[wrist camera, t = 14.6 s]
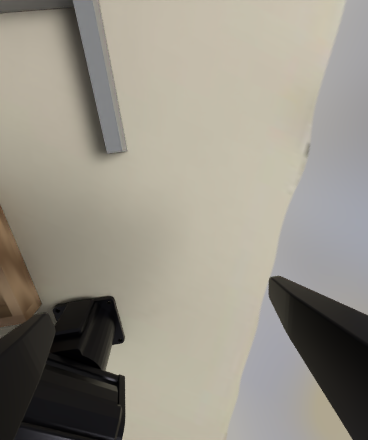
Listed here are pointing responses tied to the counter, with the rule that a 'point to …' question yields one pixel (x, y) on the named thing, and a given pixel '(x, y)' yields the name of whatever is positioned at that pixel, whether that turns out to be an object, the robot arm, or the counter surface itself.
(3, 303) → the tray
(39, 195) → the counter surface
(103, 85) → the bay
